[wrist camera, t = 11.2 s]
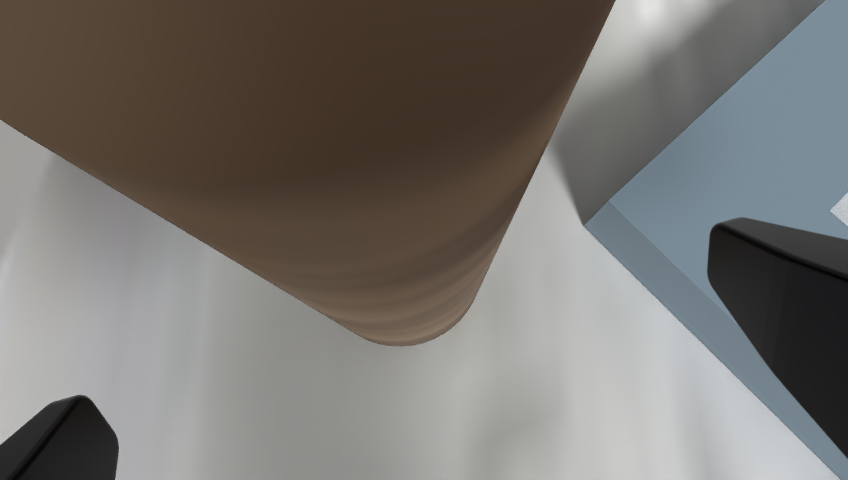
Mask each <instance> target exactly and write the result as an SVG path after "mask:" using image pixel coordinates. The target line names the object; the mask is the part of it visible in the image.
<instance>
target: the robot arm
mask: <svg viewBox="0 0 848 480" xmlns="http://www.w3.org/2000/svg"><path fill="white" fill-rule="evenodd" d="M707 276H708V280H709V283H710V285H711V287H712V288H713V290H714V291H715V293H716V294H717V296H718V297H719V299H720V300H721V301H722V303H723V304H724V306H725V307H726V308H727V310H728V311H729V313H730V314H731V316H732V317H733V318H734V320H735V321H736V323H737V324H738V326H739V327H740V328H741V330H742V331H743V333H744V334H745V336H746V337H747V338H748V340H749V341H750V343H751V344H752V345H753V347H754V348H755V350H756V351H757V353H758V354H759V355H760V357H761V358H762V359H763V361H764V362H765V363H766V365H767V366H768V367H769V369H770V370H771V371H772V373H773V374H774V375H775V376H776V377H777V379H778V380H779V381H780V382H781V383H782V385H783V386H784V387H785V388H786V389H787V390H788V392H789V393H790V394H791V395H792V396H793V397H794V398H795V400H796V401H797V402H798V403H799V404H800V405H801V406H802V408H803V409H804V410H805V411H806V412H807V413H808V414H809V416H810V417H811V418H812V419H813V420H814V421H815V422H816V424H817V425H818V426H819V427H820V428H821V429H822V430H823V432H824V433H825V434H826V435H827V436H828V437H829V439H830V440H831V441H832V442H833V443H834V444H835V445H836V447H837V448H838V449H839V450H840V451H841V452H842V453H843V455H844V456H845V457H846V458H847V459H848V240H847V239H842V238H838V237H833V236H829V235H824V234H819V233H815V232H810V231H806V230H801V229H796V228H792V227H787V226H782V225H778V224H773V223H769V222H764V221H759V220H755V219H750V218H745V217H739V218H735V219H731V220H727V221H724V222H720V223H717V224H715V225H714V226H713V227H712V229H711V231H710V235H709V248H708V261H707ZM118 453H119V445H118V439H117V437H116V434H115V432H114V431H113V429H112V428H111V426H110V425H109V424H108V422H107V421H106V419H105V418H104V417H103V415H102V414H101V413H100V411H99V410H98V408H97V407H96V406H95V404H94V403H93V401H92V400H91V399H90V398H88V397H87V396H84V395H77V396H73V397H69V398H65V399H62V400H58V401H55V402H52V403H50V404H49V405H47V406H46V407H45V408H44V409H42V410H41V411H40V412H39V413H38V414H37V415H35V416H34V417H33V418H32V419H31V420H29V421H28V422H27V423H26V424H25V425H24V426H22V427H21V428H20V429H19V430H18V431H16V432H15V433H14V434H13V435H12V436H11V437H9V438H8V439H7V440H6V441H5V442H3V443H2V444H1V445H0V480H115V477H116V469H117V461H118Z"/></svg>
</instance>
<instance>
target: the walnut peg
mask: <svg viewBox="0 0 848 480" xmlns="http://www.w3.org/2000/svg"><path fill="white" fill-rule="evenodd" d="M614 3H615V0H0V120H2V121H4V122H5V123H7V124H8V125H10V126H11V127H13V128H14V129H16V130H17V131H19V132H21V133H22V134H24V135H25V136H27V137H29V138H30V139H32V140H34V141H35V142H37V143H39V144H40V145H42V146H44V147H45V148H47V149H49V150H50V151H52V152H54V153H55V154H57V155H59V156H60V157H62V158H64V159H65V160H67V161H69V162H70V163H72V164H74V165H75V166H77V167H79V168H80V169H82V170H84V171H85V172H87V173H89V174H90V175H92V176H94V177H95V178H97V179H99V180H100V181H102V182H104V183H105V184H107V185H109V186H110V187H112V188H114V189H115V190H117V191H119V192H120V193H122V194H124V195H125V196H127V197H129V198H130V199H132V200H134V201H135V202H137V203H139V204H140V205H142V206H144V207H145V208H147V209H149V210H150V211H152V212H154V213H155V214H157V215H159V216H160V217H162V218H164V219H165V220H167V221H169V222H170V223H172V224H174V225H175V226H177V227H179V228H180V229H182V230H184V231H185V232H187V233H189V234H190V235H192V236H194V237H195V238H197V239H199V240H200V241H202V242H204V243H205V244H207V245H209V246H210V247H212V248H214V249H215V250H217V251H219V252H220V253H222V254H224V255H225V256H227V257H229V258H230V259H232V260H234V261H235V262H237V263H239V264H240V265H242V266H244V267H245V268H247V269H249V270H250V271H252V272H254V273H255V274H257V275H259V276H260V277H262V278H264V279H265V280H267V281H269V282H270V283H272V284H274V285H275V286H277V287H279V288H280V289H282V290H284V291H285V292H287V293H289V294H290V295H292V296H294V297H295V298H297V299H299V300H300V301H302V302H304V303H305V304H307V305H309V306H310V307H312V308H314V309H315V310H317V311H319V312H320V313H322V314H324V315H325V316H327V317H329V318H330V319H332V320H334V321H335V322H337V323H339V324H340V325H342V326H344V327H345V328H347V329H349V330H350V331H352V332H354V333H355V334H357V335H359V336H361V337H363V338H365V339H367V340H369V341H372V342H375V343H378V344H383V345H388V346H410V345H416V344H420V343H424V342H427V341H430V340H432V339H435V338H436V337H438V336H440V335H442V334H444V333H445V332H447V331H448V330H449V329H451V328H452V327H453V326H454V325H455V324H456V323H457V322H459V321H460V320H461V318H462V317H463V316H464V315H465V313H466V312H467V311H468V309H469V307H470V306H471V304H472V303H473V301H474V298H475V296H476V294H477V292H478V290H479V288H480V286H481V284H482V282H483V279H484V277H485V275H486V273H487V271H488V269H489V267H490V265H491V263H492V260H493V258H494V256H495V254H496V252H497V250H498V248H499V246H500V244H501V241H502V239H503V237H504V235H505V233H506V231H507V229H508V227H509V224H510V222H511V220H512V218H513V216H514V214H515V212H516V210H517V208H518V205H519V203H520V201H521V199H522V197H523V195H524V193H525V191H526V189H527V186H528V184H529V182H530V180H531V178H532V176H533V174H534V172H535V170H536V167H537V165H538V163H539V161H540V159H541V157H542V155H543V153H544V151H545V148H546V146H547V144H548V142H549V140H550V138H551V136H552V134H553V131H554V129H555V127H556V125H557V123H558V121H559V119H560V117H561V115H562V112H563V110H564V108H565V106H566V104H567V102H568V100H569V98H570V96H571V93H572V91H573V89H574V87H575V85H576V83H577V81H578V79H579V77H580V74H581V72H582V70H583V68H584V66H585V64H586V62H587V60H588V58H589V55H590V53H591V51H592V49H593V47H594V45H595V43H596V41H597V38H598V36H599V34H600V32H601V30H602V28H603V26H604V24H605V22H606V19H607V17H608V15H609V13H610V11H611V9H612V7H613V5H614Z"/></svg>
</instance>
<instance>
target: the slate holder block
mask: <svg viewBox="0 0 848 480" xmlns="http://www.w3.org/2000/svg"><path fill="white" fill-rule="evenodd" d="M847 192H848V0H825V1H824V2H823V3H822V4H821V5H820V6H818V7H817V8H816V9H815V10H814V11H813V12H812V13H811V14H810V15H809V16H808V17H807V18H805V19H804V20H803V21H802V22H801V23H800V24H799V25H798V26H797V27H796V28H795V29H794V30H792V31H791V32H790V33H789V34H788V35H787V36H786V37H785V38H784V39H783V40H782V41H781V42H779V43H778V44H777V45H776V46H775V47H774V48H773V49H772V50H771V51H770V52H769V53H768V54H766V55H765V56H764V57H763V58H762V59H761V60H760V61H759V62H758V63H757V64H756V65H754V66H753V67H752V68H751V69H750V70H749V71H748V72H747V73H746V74H745V75H744V76H743V77H741V78H740V79H739V80H738V81H737V82H736V83H735V84H734V85H733V86H732V87H731V88H730V89H728V90H727V91H726V92H725V93H724V94H723V95H722V96H721V97H720V98H719V99H718V100H717V101H715V102H714V103H713V104H712V105H711V106H710V107H709V108H708V109H707V110H706V111H705V112H704V113H702V114H701V115H700V116H699V117H698V118H697V119H696V120H695V121H694V122H693V123H692V124H691V125H689V126H688V127H687V128H686V129H685V130H684V131H683V132H682V133H681V134H680V135H679V136H678V137H676V138H675V139H674V140H673V141H672V142H671V143H670V144H669V145H668V146H667V147H666V148H665V149H663V150H662V151H661V152H660V153H659V154H658V155H657V156H656V157H655V158H654V159H653V160H652V161H650V162H649V163H648V164H647V165H646V166H645V167H644V168H643V169H642V170H641V171H640V172H639V173H637V174H636V175H635V176H634V177H633V178H632V179H631V180H630V181H629V182H628V183H627V184H626V185H624V186H623V187H622V188H621V189H620V190H619V191H618V192H617V193H616V194H615V195H614V196H613V197H611V198H610V199H609V200H608V201H607V202H606V203H605V204H604V205H603V206H602V207H601V208H600V210H599V211H598V212H597V213H596V214H595V215H594V216H593V217H592V218H591V219H590V220H589V221H588V222H587V223H586V224H585V225H584V227H585V228H586V229H587V230H588V231H589V232H590V233H591V234H592V235H593V236H594V237H595V238H596V239H597V240H598V241H599V242H600V243H601V244H602V245H603V246H604V247H605V248H606V249H607V250H608V251H609V252H610V253H611V254H612V255H613V256H614V257H615V258H616V259H617V260H618V261H619V262H620V263H621V264H622V265H624V266H625V267H626V268H627V269H628V270H629V271H630V272H631V273H632V274H633V275H634V276H635V277H636V278H637V279H638V280H639V281H640V282H641V283H642V284H643V285H644V286H645V287H646V288H647V289H648V290H649V291H650V292H651V293H652V294H653V295H654V296H655V297H656V298H657V299H658V300H659V301H660V302H661V303H662V304H663V305H664V306H665V307H666V308H667V309H668V310H669V311H670V312H671V313H672V314H673V315H674V316H675V317H676V318H677V319H678V320H679V321H680V322H681V323H682V324H683V325H684V326H685V327H686V328H687V329H688V330H690V331H691V332H692V333H693V334H694V335H695V336H696V337H697V338H698V339H699V340H700V341H701V342H702V343H703V344H704V345H705V346H706V347H707V348H708V349H709V350H710V351H711V352H712V353H713V354H714V355H715V356H716V357H717V358H718V359H719V360H720V361H721V362H722V363H723V364H724V365H725V366H726V367H727V368H728V369H729V370H730V371H731V372H732V373H733V374H734V375H735V376H736V377H737V378H738V379H739V380H740V381H741V382H742V383H743V384H744V385H745V386H746V387H747V388H748V389H749V390H750V391H751V392H752V393H753V394H754V395H756V396H757V397H758V398H759V399H760V400H761V401H762V402H763V403H764V404H765V405H766V406H767V407H768V408H769V409H770V410H771V411H772V412H773V413H774V414H775V415H776V416H777V417H778V418H779V419H780V420H781V421H782V422H783V423H784V424H785V425H786V426H787V427H788V428H789V429H790V430H791V431H792V432H793V433H794V434H795V435H796V436H797V437H798V438H799V439H800V440H801V441H802V442H803V443H804V444H805V445H806V446H807V447H808V448H809V449H810V450H811V451H812V452H813V453H814V454H815V455H816V456H817V457H818V458H819V459H820V460H822V461H823V462H824V463H825V464H826V465H827V466H828V467H829V468H830V469H831V470H832V471H833V472H834V473H835V474H836V475H837V476H838V477H839V478H840V479H841V480H848V459H847V458H846V457H845V456H844V455H843V453H842V452H841V451H840V450H839V449H838V448H837V447H836V445H835V444H834V443H833V442H832V441H831V440H830V439H829V437H828V436H827V435H826V434H825V433H824V432H823V430H822V429H821V428H820V427H819V426H818V425H817V424H816V422H815V421H814V420H813V419H812V418H811V417H810V416H809V414H808V413H807V412H806V411H805V410H804V409H803V408H802V406H801V405H800V404H799V403H798V402H797V401H796V400H795V398H794V397H793V396H792V395H791V394H790V393H789V392H788V390H787V389H786V388H785V387H784V386H783V385H782V383H781V382H780V381H779V380H778V379H777V377H776V376H775V375H774V374H773V373H772V371H771V370H770V369H769V367H768V366H767V365H766V363H765V362H764V361H763V359H762V358H761V357H760V355H759V354H758V353H757V351H756V350H755V348H754V347H753V345H752V344H751V343H750V341H749V340H748V338H747V337H746V336H745V334H744V333H743V331H742V330H741V328H740V327H739V326H738V324H737V323H736V321H735V320H734V318H733V317H732V316H731V314H730V313H729V311H728V310H727V308H726V307H725V306H724V304H723V303H722V301H721V300H720V299H719V297H718V296H717V294H716V293H715V291H714V290H713V288H712V287H711V285H710V283H709V280H708V276H707V261H708V248H709V235H710V231H711V229H712V227H713V226H714V225H715V224H717V223H720V222H724V221H727V220H731V219H735V218H739V217H745V218H750V219H755V220H759V221H764V222H769V223H773V224H778V225H782V226H787V227H792V228H796V229H801V230H806V231H810V232H815V233H819V234H824V235H829V236H833V237H838V238H842V239H847V240H848V226H846V225H845V224H844V223H843V222H842V221H841V220H839V219H838V218H837V217H836V216H835V215H834V214H833V213H831V212H830V210H831V209H832V208H833V207H834V206H835V205H836V204H837V203H838V202H839V201H840V200H841V199H842V198H843V196H844V195H845V194H846V193H847Z"/></svg>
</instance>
